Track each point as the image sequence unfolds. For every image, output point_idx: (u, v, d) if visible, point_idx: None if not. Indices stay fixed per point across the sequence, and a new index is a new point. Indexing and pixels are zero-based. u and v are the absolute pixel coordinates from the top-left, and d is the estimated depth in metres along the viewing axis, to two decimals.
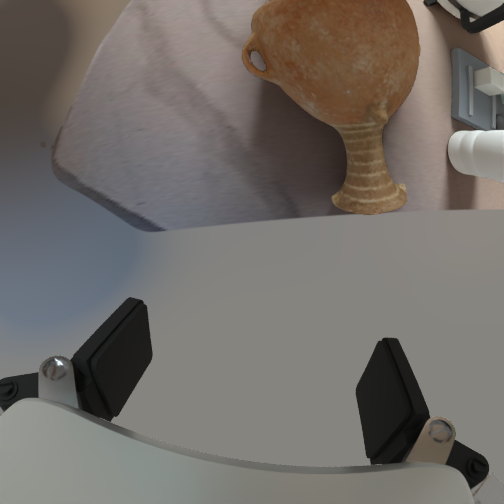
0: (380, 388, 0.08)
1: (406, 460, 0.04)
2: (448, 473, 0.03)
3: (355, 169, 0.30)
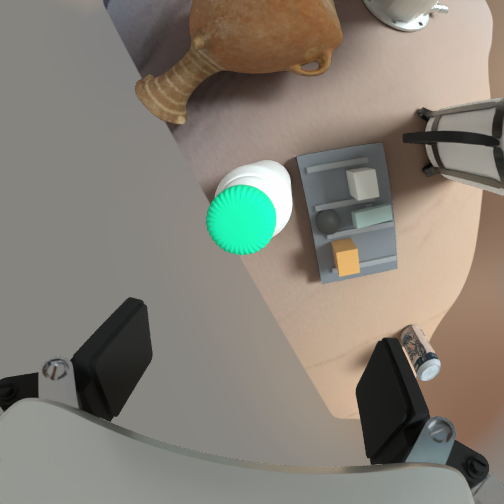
0: (380, 388, 0.08)
1: (406, 460, 0.04)
2: (448, 473, 0.03)
3: (169, 70, 0.30)
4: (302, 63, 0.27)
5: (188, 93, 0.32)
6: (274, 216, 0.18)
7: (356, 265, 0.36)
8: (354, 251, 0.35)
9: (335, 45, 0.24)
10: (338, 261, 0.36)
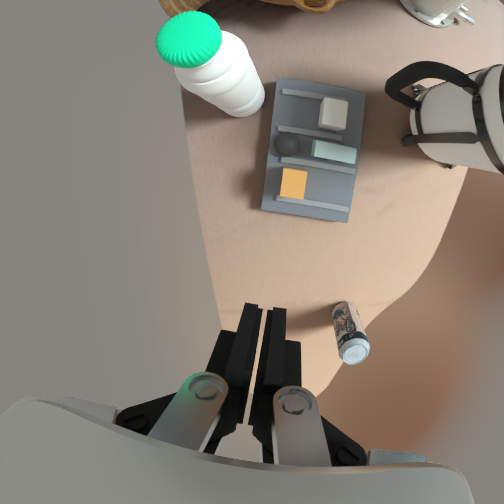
0: (260, 354, 0.09)
1: (278, 449, 0.05)
2: (448, 473, 0.03)
3: None
4: None
5: (199, 2, 0.27)
6: (216, 35, 0.14)
7: (301, 189, 0.34)
8: (303, 172, 0.33)
9: None
10: (283, 178, 0.34)
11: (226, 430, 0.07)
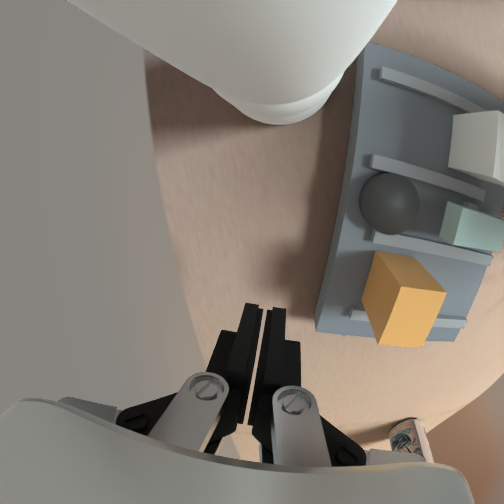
0: None
1: (277, 449, 0.05)
2: (448, 473, 0.03)
3: None
4: None
5: None
6: None
7: (424, 329, 0.12)
8: (438, 295, 0.12)
9: None
10: (395, 309, 0.12)
11: (226, 430, 0.07)
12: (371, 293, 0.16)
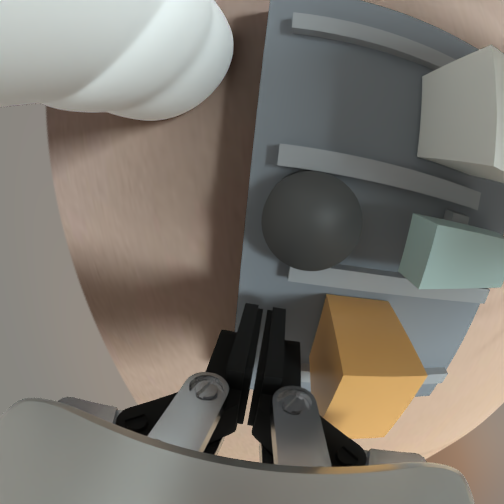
0: None
1: (277, 449, 0.05)
2: (448, 473, 0.03)
3: None
4: None
5: None
6: None
7: (387, 420, 0.08)
8: (412, 381, 0.07)
9: None
10: (334, 402, 0.07)
11: (226, 430, 0.07)
12: (317, 356, 0.11)
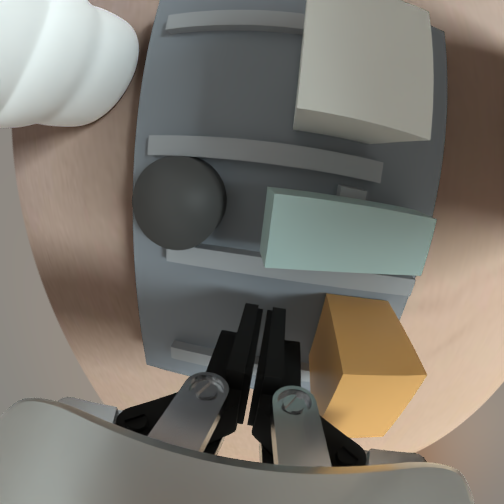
0: None
1: (277, 449, 0.05)
2: (448, 473, 0.03)
3: None
4: None
5: None
6: None
7: (386, 419, 0.08)
8: (411, 380, 0.07)
9: None
10: (334, 401, 0.07)
11: (226, 430, 0.07)
12: (316, 355, 0.11)
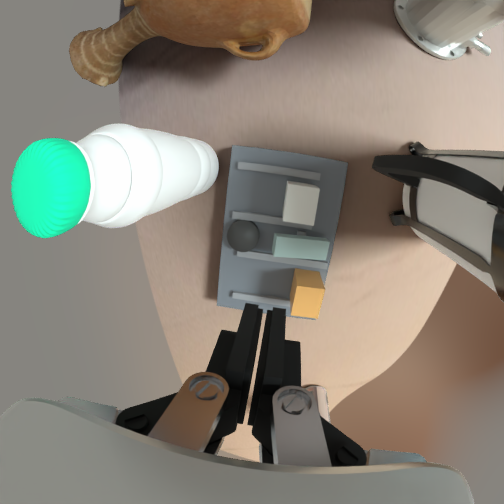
0: None
1: (277, 449, 0.05)
2: (448, 473, 0.03)
3: None
4: (240, 41, 0.20)
5: (118, 54, 0.23)
6: (70, 193, 0.09)
7: (315, 308, 0.29)
8: (319, 290, 0.28)
9: (289, 26, 0.18)
10: (296, 296, 0.28)
11: (226, 430, 0.07)
12: (291, 290, 0.32)
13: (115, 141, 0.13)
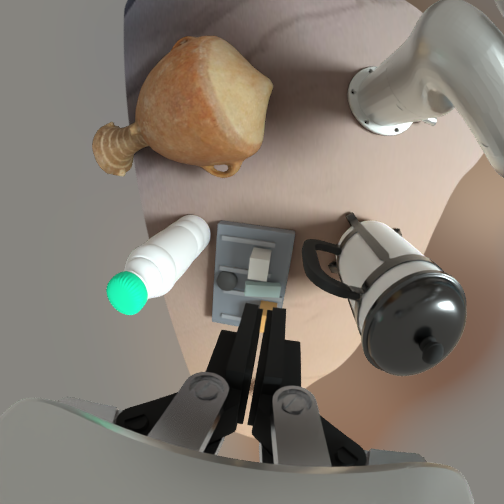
0: None
1: (277, 449, 0.05)
2: (448, 473, 0.03)
3: (121, 130, 0.38)
4: (213, 165, 0.37)
5: (130, 154, 0.41)
6: (142, 301, 0.27)
7: None
8: None
9: (243, 158, 0.35)
10: None
11: (226, 430, 0.07)
12: None
13: (152, 263, 0.31)
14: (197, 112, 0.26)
